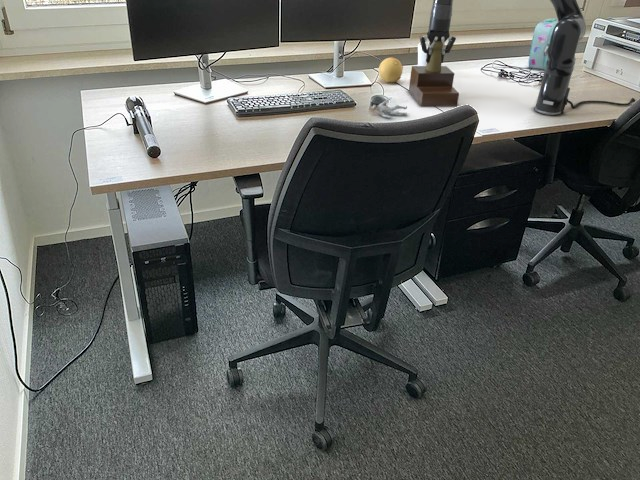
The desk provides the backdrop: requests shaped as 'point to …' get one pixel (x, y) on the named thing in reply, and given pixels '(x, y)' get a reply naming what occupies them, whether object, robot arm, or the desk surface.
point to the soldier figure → (388, 109)
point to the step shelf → (433, 87)
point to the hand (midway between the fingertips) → (434, 63)
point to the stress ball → (390, 69)
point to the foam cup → (422, 55)
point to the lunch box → (541, 43)
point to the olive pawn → (435, 58)
